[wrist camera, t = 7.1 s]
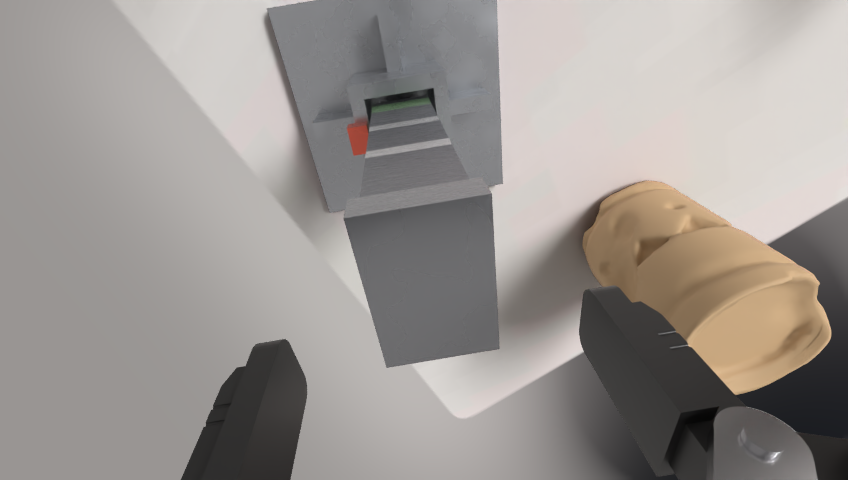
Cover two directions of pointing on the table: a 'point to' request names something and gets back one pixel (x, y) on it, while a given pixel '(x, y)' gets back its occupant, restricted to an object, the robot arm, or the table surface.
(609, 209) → the container
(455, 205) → the column
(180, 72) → the table surface
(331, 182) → the stand
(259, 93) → the table surface
